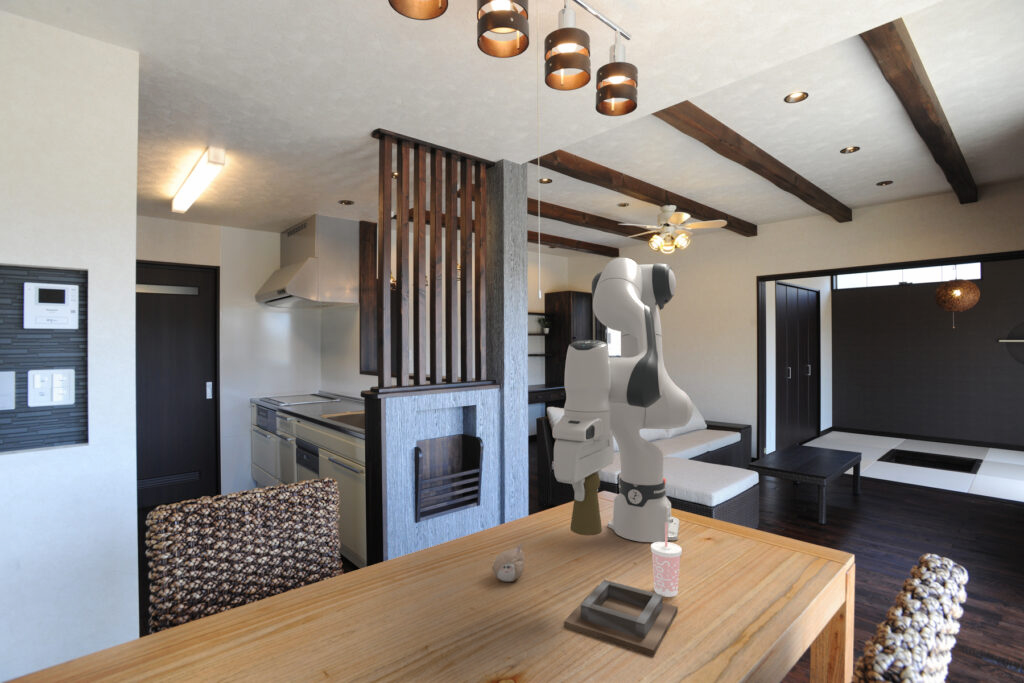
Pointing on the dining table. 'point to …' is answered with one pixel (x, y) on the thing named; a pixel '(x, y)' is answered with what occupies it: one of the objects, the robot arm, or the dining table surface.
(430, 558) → the dining table surface
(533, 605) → the dining table surface
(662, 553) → the beverage cup
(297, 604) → the dining table surface
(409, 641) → the dining table surface
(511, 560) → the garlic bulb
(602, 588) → the socket base
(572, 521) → the olive pawn peg
